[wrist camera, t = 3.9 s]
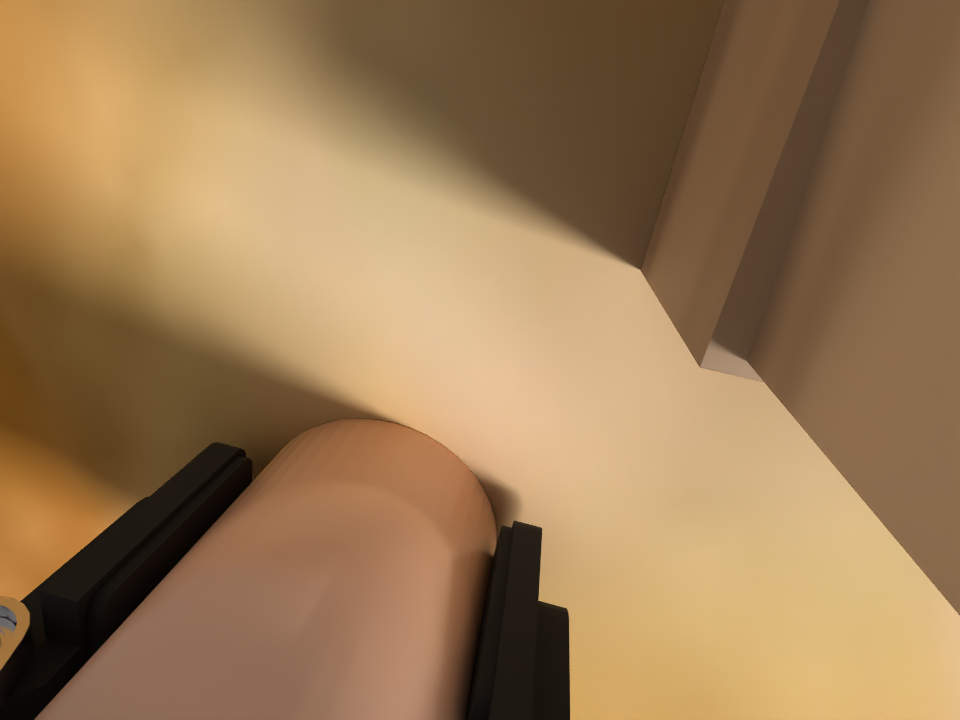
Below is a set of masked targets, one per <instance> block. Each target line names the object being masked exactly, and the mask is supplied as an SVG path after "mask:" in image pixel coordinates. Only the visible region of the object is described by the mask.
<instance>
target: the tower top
mask: <svg viewBox="0 0 960 720" xmlns="http://www.w3.org/2000/svg"><path fill="white" fill-rule="evenodd" d="M747 362H748V363H749V365H750V366H751V367H752V368H753V369H754V370H755V372H756V373H757V374H758V375H759V376H760V378H761V379H762V380H763V381H764V382H765V384H766V385H767V386H768V387H769V388H770V390H771V391H772V392H773V393H774V394H775V396H776V397H777V398H778V399H779V400H780V402H781V403H782V404H783V405H784V406H785V407H786V409H787V410H788V411H789V412H790V413H791V415H792V416H793V417H794V418H795V419H796V421H797V422H798V423H799V424H800V425H801V427H802V428H803V429H804V430H805V431H806V433H807V434H808V435H809V436H810V437H811V438H812V440H813V441H814V442H815V443H816V444H817V446H818V447H819V448H820V449H821V450H822V452H823V453H824V454H825V455H826V456H827V458H828V459H829V460H830V461H831V462H832V464H833V465H834V466H835V467H836V468H837V470H838V471H839V472H840V473H841V474H842V475H843V477H844V478H845V479H846V480H847V481H848V483H849V484H850V485H851V486H852V487H853V489H854V490H855V491H856V492H857V493H858V495H859V496H860V497H861V498H862V499H863V501H864V502H865V503H866V504H867V505H868V507H869V508H870V509H871V510H872V511H873V512H874V514H875V515H876V516H877V517H878V518H879V520H880V521H881V522H882V523H883V524H884V526H885V527H886V528H887V529H888V530H889V532H890V533H891V534H892V535H893V536H894V538H895V539H896V540H897V541H898V542H899V544H900V545H901V546H902V547H903V548H904V549H905V551H906V552H907V553H908V554H909V555H910V557H911V558H912V559H913V560H914V561H915V563H916V564H917V565H918V566H919V567H920V569H921V570H922V571H923V572H924V573H925V575H926V576H927V577H928V578H929V579H930V581H931V582H932V583H933V584H934V585H935V586H936V588H937V589H938V590H939V591H940V592H941V594H942V595H943V596H944V597H945V598H946V600H947V601H948V602H949V603H950V604H951V606H952V607H953V608H954V609H955V610H956V612H957V613H958V614H959V615H960V0H869V3H868V6H867V9H866V12H865V15H864V18H863V21H862V24H861V27H860V30H859V33H858V36H857V39H856V41H855V44H854V47H853V50H852V53H851V56H850V59H849V62H848V65H847V68H846V71H845V74H844V77H843V80H842V83H841V86H840V88H839V91H838V94H837V97H836V100H835V103H834V106H833V109H832V112H831V115H830V118H829V121H828V124H827V127H826V130H825V133H824V135H823V138H822V141H821V144H820V147H819V150H818V153H817V156H816V159H815V162H814V165H813V168H812V171H811V174H810V177H809V179H808V182H807V185H806V188H805V191H804V194H803V197H802V200H801V203H800V206H799V209H798V212H797V215H796V218H795V221H794V224H793V226H792V229H791V232H790V235H789V238H788V241H787V244H786V247H785V250H784V253H783V256H782V259H781V262H780V265H779V268H778V271H777V273H776V276H775V279H774V282H773V285H772V288H771V291H770V294H769V297H768V300H767V303H766V306H765V309H764V312H763V315H762V317H761V320H760V323H759V326H758V329H757V332H756V335H755V338H754V341H753V344H752V347H751V350H750V353H749V356H748V359H747Z"/></svg>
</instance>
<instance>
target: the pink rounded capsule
mask: <svg viewBox="0 0 960 720" xmlns="http://www.w3.org/2000/svg"><path fill="white" fill-rule="evenodd" d="M496 538H497V531H496V523H495V517H494V514H493V510H492V507H491V504H490V502H489V499H488V497H487V495H486V493H485V491H484V489H483V488H482V486H481V484H480V483H479V481H478V479H477V478H476V477H475V476H474V474H473V473H472V472H471V471H470V469H469V468H468V467H467V466H466V465H465V464H464V463H463V462H462V461H461V460H460V459H459V458H458V457H457V456H456V455H455V454H454V453H452V452H451V451H450V450H448V449H447V448H446V447H444V446H443V445H442V444H440V443H438V442H437V441H435V440H433V439H432V438H430V437H428V436H427V435H424V434H422V433H420V432H418V431H415V430H413V429H411V428H408V427H405V426H402V425H398V424H395V423H391V422H386V421H381V420H372V419H344V420H338V421H333V422H328V423H325V424H322V425H319V426H316V427H314V428H311V429H309V430H307V431H305V432H303V433H302V434H300V435H299V436H297V437H296V438H294V439H293V440H291V441H290V442H289V443H288V444H287V445H286V446H285V447H284V448H283V449H282V450H281V451H280V452H279V453H278V454H277V455H276V456H275V458H274V459H273V460H272V461H271V462H270V463H269V464H268V465H267V466H266V467H265V468H264V470H263V471H262V472H261V473H260V474H259V475H258V476H257V477H256V478H255V479H254V480H253V482H252V483H251V484H250V485H249V486H248V487H247V488H246V489H245V490H244V491H243V492H242V494H241V495H240V496H239V497H238V498H237V499H236V500H235V501H234V502H233V503H232V504H231V506H230V507H229V508H228V509H227V510H226V511H225V512H224V513H223V514H222V515H221V516H220V518H219V519H218V520H217V521H216V522H215V523H214V524H213V525H212V526H211V527H210V528H209V530H208V531H207V532H206V533H205V534H204V535H203V536H202V537H201V538H200V539H199V540H198V542H197V543H196V544H195V545H194V546H193V547H192V548H191V549H190V550H189V551H188V552H187V554H186V555H185V556H184V557H183V558H182V559H181V560H180V561H179V562H178V563H177V564H176V566H175V567H174V568H173V569H172V570H171V571H170V572H169V573H168V574H167V575H166V576H165V578H164V579H163V580H162V581H161V582H160V583H159V584H158V585H157V586H156V587H155V588H154V590H153V591H152V592H151V593H150V594H149V595H148V596H147V597H146V598H145V599H144V600H143V602H142V603H141V604H140V605H139V606H138V607H137V608H136V609H135V610H134V611H133V612H132V613H131V615H130V616H129V617H128V618H127V619H126V620H125V621H124V622H123V623H122V624H121V625H120V627H119V628H118V629H117V630H116V631H115V632H114V633H113V634H112V635H111V636H110V637H109V639H108V640H107V641H106V642H105V643H104V644H103V645H102V646H101V647H100V648H99V649H98V651H97V652H96V653H95V654H94V655H93V656H92V657H91V658H90V659H89V660H88V661H87V663H86V664H85V665H84V666H83V667H82V668H81V669H80V670H79V671H78V672H77V673H76V675H75V676H74V677H73V678H72V679H71V680H70V681H69V682H68V683H67V684H66V685H65V687H64V688H63V689H62V690H61V691H60V692H59V693H58V694H57V695H56V696H55V697H54V699H53V700H52V701H51V702H50V703H49V704H48V705H47V706H46V707H45V708H44V709H43V711H42V712H41V713H40V714H39V715H38V716H37V717H36V718H35V719H34V720H466V714H467V708H468V702H469V696H470V690H471V684H472V679H473V673H474V667H475V661H476V655H477V649H478V643H479V637H480V631H481V625H482V619H483V613H484V608H485V602H486V596H487V590H488V584H489V578H490V572H491V566H492V560H493V555H494V552H495V548H496Z"/></svg>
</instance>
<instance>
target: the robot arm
mask: <svg viewBox="0 0 960 720" xmlns="http://www.w3.org/2000/svg"><path fill="white" fill-rule="evenodd" d="M252 467H253V465H252V460H251V459H249V458H246V453H245V450H243V449H241V448H237V447H233V446H229V445H225V444H222V443H218V442H215V443H213V444H211V445H209V446H208V447H207V448H206V449H205V450H204V451H202V452H201V453H200V454H199V455H198V456H197V457H195V458H194V459H193V460H192V461H191V462H190V463H188V464H187V465H186V466H185V467H184V468H183V469H181V470H180V471H179V472H178V473H177V474H176V475H174V476H173V477H172V478H171V479H170V480H169V481H167V482H166V483H165V484H164V485H163V486H162V487H160V488H159V489H158V490H157V491H156V492H155V493H153V494H152V495H151V496H150V497H146V498H144V499H142V500H141V501H139V502H138V503H136V504H135V505H134V506H133V507H132V508H130V509H129V510H128V511H127V512H126V513H125V514H123V515H122V516H121V517H120V518H119V519H117V520H116V521H115V522H114V523H113V524H111V525H110V526H109V527H108V528H107V529H106V530H104V531H103V532H102V533H101V534H100V535H98V536H97V537H96V538H95V539H94V540H93V541H91V542H90V543H89V544H88V545H87V546H85V547H84V548H83V549H82V550H81V551H80V552H78V553H77V554H76V555H75V556H74V557H72V558H71V559H70V560H69V561H68V562H66V563H65V564H64V565H63V566H62V567H61V568H59V569H58V570H57V571H56V572H55V573H53V574H52V575H51V576H50V577H49V578H48V579H46V580H45V581H44V582H43V583H42V584H40V585H39V586H38V587H37V588H36V589H35V590H33V591H32V592H31V593H30V594H29V595H27V596H26V597H25V598H24V599H23V600H21V601H18V600H16V599H14V598H10V597H4V596H0V720H34V719H35V718H36V717H37V716H38V715H39V714H40V713H41V712H42V711H43V709H44V708H45V707H46V706H47V705H48V704H49V703H50V702H51V701H52V700H53V699H54V697H55V696H56V695H57V694H58V693H59V692H60V691H61V690H62V689H63V688H64V687H65V685H66V684H67V683H68V682H69V681H70V680H71V679H72V678H73V677H74V676H75V675H76V673H77V672H78V671H79V670H80V669H81V668H82V667H83V666H84V665H85V664H86V663H87V661H88V660H89V659H90V658H91V657H92V656H93V655H94V654H95V653H96V652H97V651H98V649H99V648H100V647H101V646H102V645H103V644H104V643H105V642H106V641H107V640H108V639H109V637H110V636H111V635H112V634H113V633H114V632H115V631H116V630H117V629H118V628H119V627H120V625H121V624H122V623H123V622H124V621H125V620H126V619H127V618H128V617H129V616H130V615H131V613H132V612H133V611H134V610H135V609H136V608H137V607H138V606H139V605H140V604H141V603H142V602H143V600H144V599H145V598H146V597H147V596H148V595H149V594H150V593H151V592H152V591H153V590H154V588H155V587H156V586H157V585H158V584H159V583H160V582H161V581H162V580H163V579H164V578H165V576H166V575H167V574H168V573H169V572H170V571H171V570H172V569H173V568H174V567H175V566H176V564H177V563H178V562H179V561H180V560H181V559H182V558H183V557H184V556H185V555H186V554H187V552H188V551H189V550H190V549H191V548H192V547H193V546H194V545H195V544H196V543H197V542H198V540H199V539H200V538H201V537H202V536H203V535H204V534H205V533H206V532H207V531H208V530H209V528H210V527H211V526H212V525H213V524H214V523H215V522H216V521H217V520H218V519H219V518H220V516H221V515H222V514H223V513H224V512H225V511H226V510H227V509H228V508H229V507H230V506H231V504H232V503H233V502H234V501H235V500H236V499H237V498H238V497H239V496H240V495H241V494H242V492H243V491H244V490H245V489H246V488H247V487H248V486H249V485H250V484H251V483H252ZM541 540H542V528H541V527H537V526H533V525H529V524H525V523H522V522H518V521H514V523H513V526H512V528H511V527H507V526H503V525H502V527H501V530H500V534H499V538H498V541H497V545H496V548H495V552H494V555H493V560H492V566H491V572H490V578H489V584H488V590H487V596H486V602H485V608H484V613H483V619H482V625H481V631H480V637H479V643H478V649H477V655H476V661H475V667H474V673H473V679H472V684H471V690H470V696H469V702H468V708H467V714H466V720H570V673H569V616H568V610H567V609H566V608H563V607H559V606H555V605H552V604H548V603H544V602H541V601H538V596H539V577H540V559H541Z"/></svg>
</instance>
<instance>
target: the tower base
mask: <svg viewBox="0 0 960 720" xmlns="http://www.w3.org/2000/svg"><path fill="white" fill-rule="evenodd" d="M868 3H869V0H724V3H723V6H722V10H721V13H720V16H719V19H718V23H717V26H716V29H715V32H714V35H713V39H712V42H711V45H710V48H709V51H708V55H707V58H706V61H705V64H704V68H703V71H702V74H701V77H700V80H699V84H698V87H697V90H696V93H695V96H694V100H693V103H692V106H691V109H690V113H689V116H688V119H687V122H686V125H685V129H684V132H683V135H682V138H681V141H680V145H679V148H678V151H677V154H676V158H675V161H674V164H673V167H672V170H671V174H670V177H669V180H668V183H667V186H666V190H665V193H664V196H663V199H662V203H661V206H660V209H659V212H658V215H657V219H656V222H655V225H654V228H653V231H652V235H651V238H650V241H649V244H648V248H647V251H646V254H645V257H644V260H643V264H642V267H641V272H642V273H643V275H644V277H645V278H646V280H647V282H648V283H649V285H650V287H651V288H652V290H653V291H654V293H655V295H656V296H657V298H658V300H659V301H660V303H661V305H662V306H663V308H664V310H665V311H666V313H667V314H668V316H669V318H670V319H671V321H672V323H673V324H674V326H675V328H676V329H677V331H678V332H679V334H680V336H681V337H682V339H683V341H684V342H685V344H686V346H687V347H688V349H689V350H690V352H691V354H692V355H693V357H694V359H695V360H696V362H697V364H698V365H699V367H700V368H704V369H708V370H713V371H717V372H721V373H726V374H730V375H735V376H739V377H743V378H748V379H752V380H756V381H761V382H764V381H763V380H762V379H761V378H760V376H759V375H758V374H757V373H756V372H755V370H754V369H753V368H752V367H751V366H750V365H749V363H748V362H747V359H748V356H749V353H750V350H751V347H752V344H753V341H754V338H755V335H756V332H757V329H758V326H759V323H760V320H761V317H762V315H763V312H764V309H765V306H766V303H767V300H768V297H769V294H770V291H771V288H772V285H773V282H774V279H775V276H776V273H777V271H778V268H779V265H780V262H781V259H782V256H783V253H784V250H785V247H786V244H787V241H788V238H789V235H790V232H791V229H792V226H793V224H794V221H795V218H796V215H797V212H798V209H799V206H800V203H801V200H802V197H803V194H804V191H805V188H806V185H807V182H808V179H809V177H810V174H811V171H812V168H813V165H814V162H815V159H816V156H817V153H818V150H819V147H820V144H821V141H822V138H823V135H824V133H825V130H826V127H827V124H828V121H829V118H830V115H831V112H832V109H833V106H834V103H835V100H836V97H837V94H838V91H839V88H840V86H841V83H842V80H843V77H844V74H845V71H846V68H847V65H848V62H849V59H850V56H851V53H852V50H853V47H854V44H855V41H856V39H857V36H858V33H859V30H860V27H861V24H862V21H863V18H864V15H865V12H866V9H867V6H868Z"/></svg>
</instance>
